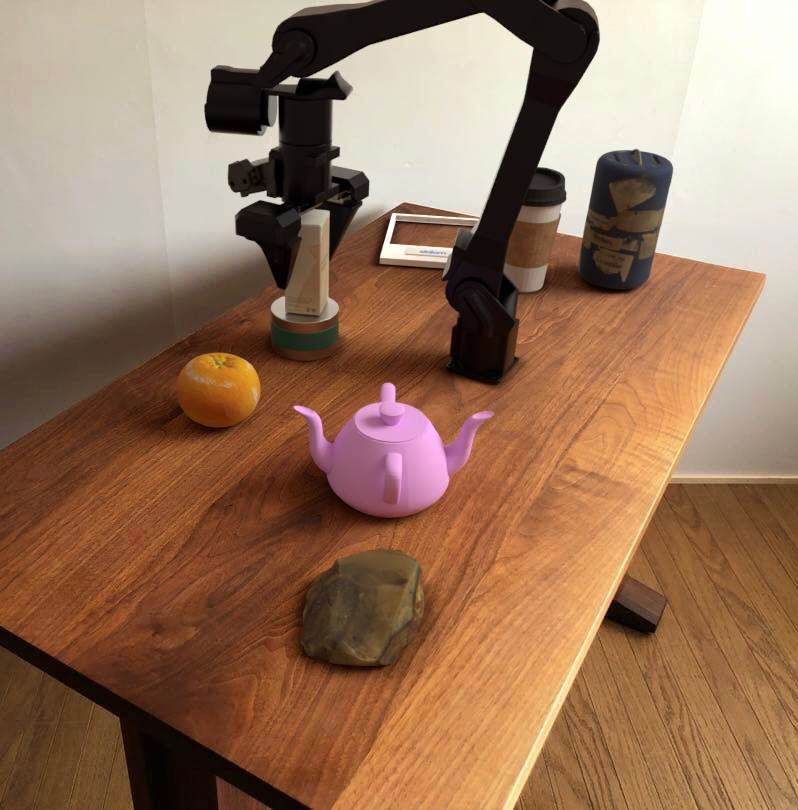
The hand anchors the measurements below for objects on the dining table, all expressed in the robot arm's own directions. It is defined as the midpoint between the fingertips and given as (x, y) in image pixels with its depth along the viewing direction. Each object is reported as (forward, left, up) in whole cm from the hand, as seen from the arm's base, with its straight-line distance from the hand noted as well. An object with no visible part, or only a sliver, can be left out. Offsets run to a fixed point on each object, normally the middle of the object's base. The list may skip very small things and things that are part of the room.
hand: (304, 274), depth 105 cm
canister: (-25, -39, -9) cm, 47 cm away
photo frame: (+1, -37, -9) cm, 38 cm away
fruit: (-1, +18, -9) cm, 21 cm away
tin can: (0, 0, -9) cm, 9 cm away
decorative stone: (-28, +35, -10) cm, 46 cm away
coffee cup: (-15, -31, -9) cm, 36 cm away
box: (0, 0, -4) cm, 4 cm away
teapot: (-22, +19, -9) cm, 31 cm away
